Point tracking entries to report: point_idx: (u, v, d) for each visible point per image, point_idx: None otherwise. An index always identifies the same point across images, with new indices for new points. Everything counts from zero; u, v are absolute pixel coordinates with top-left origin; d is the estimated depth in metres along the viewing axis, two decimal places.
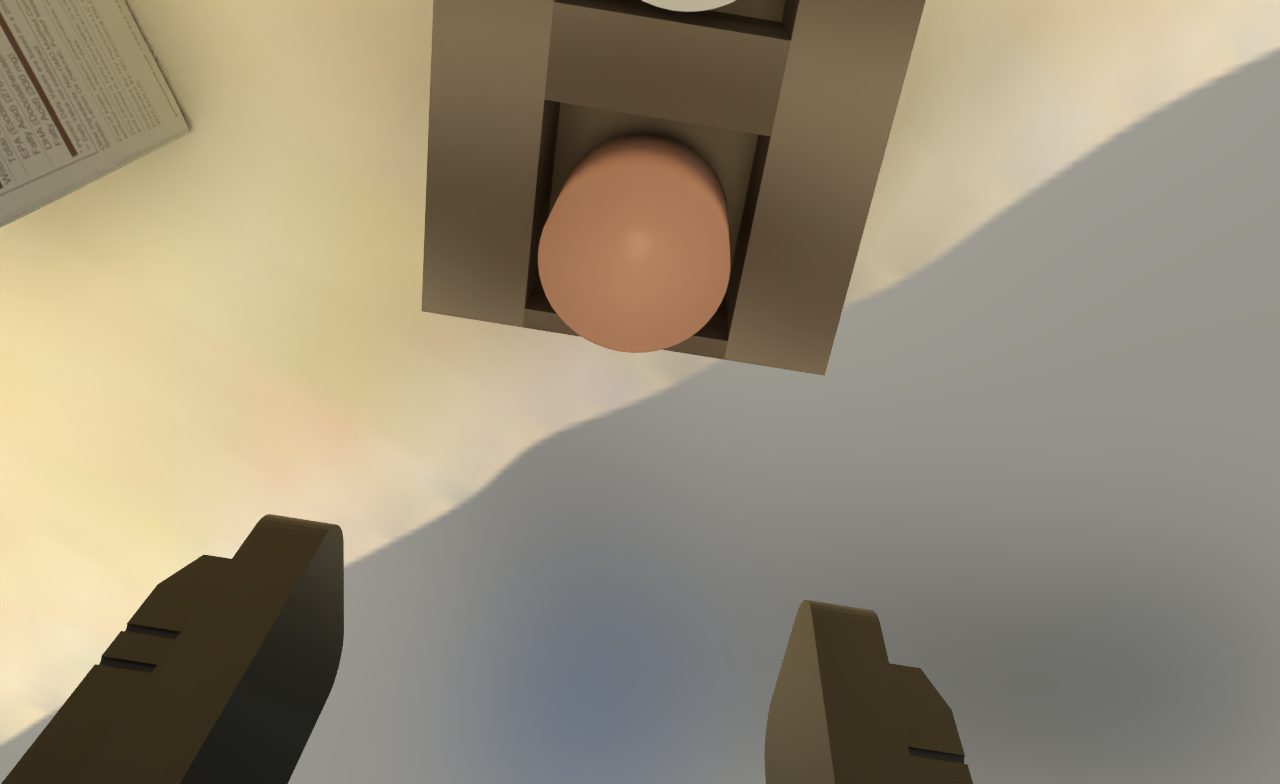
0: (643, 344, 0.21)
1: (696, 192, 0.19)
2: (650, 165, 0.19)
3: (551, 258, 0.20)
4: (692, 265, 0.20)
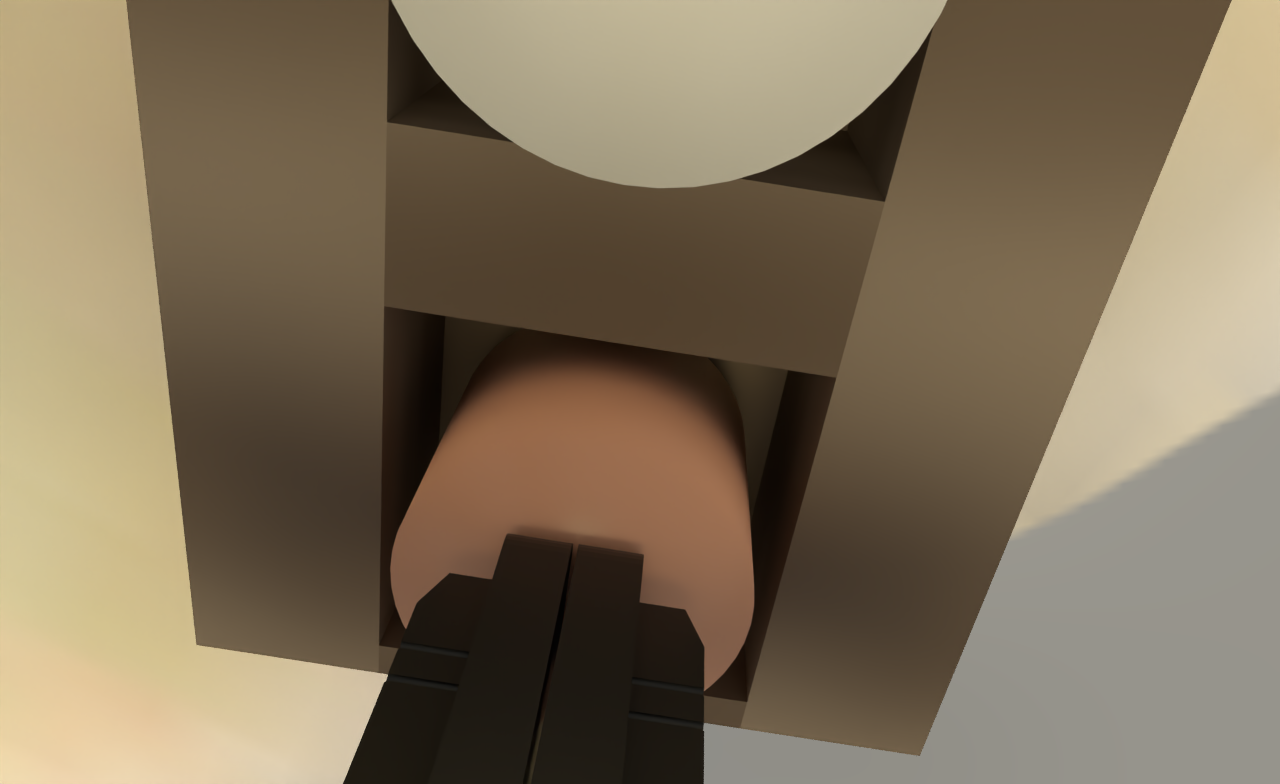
0: None
1: (689, 478, 0.10)
2: (600, 421, 0.10)
3: (416, 582, 0.10)
4: (683, 598, 0.10)
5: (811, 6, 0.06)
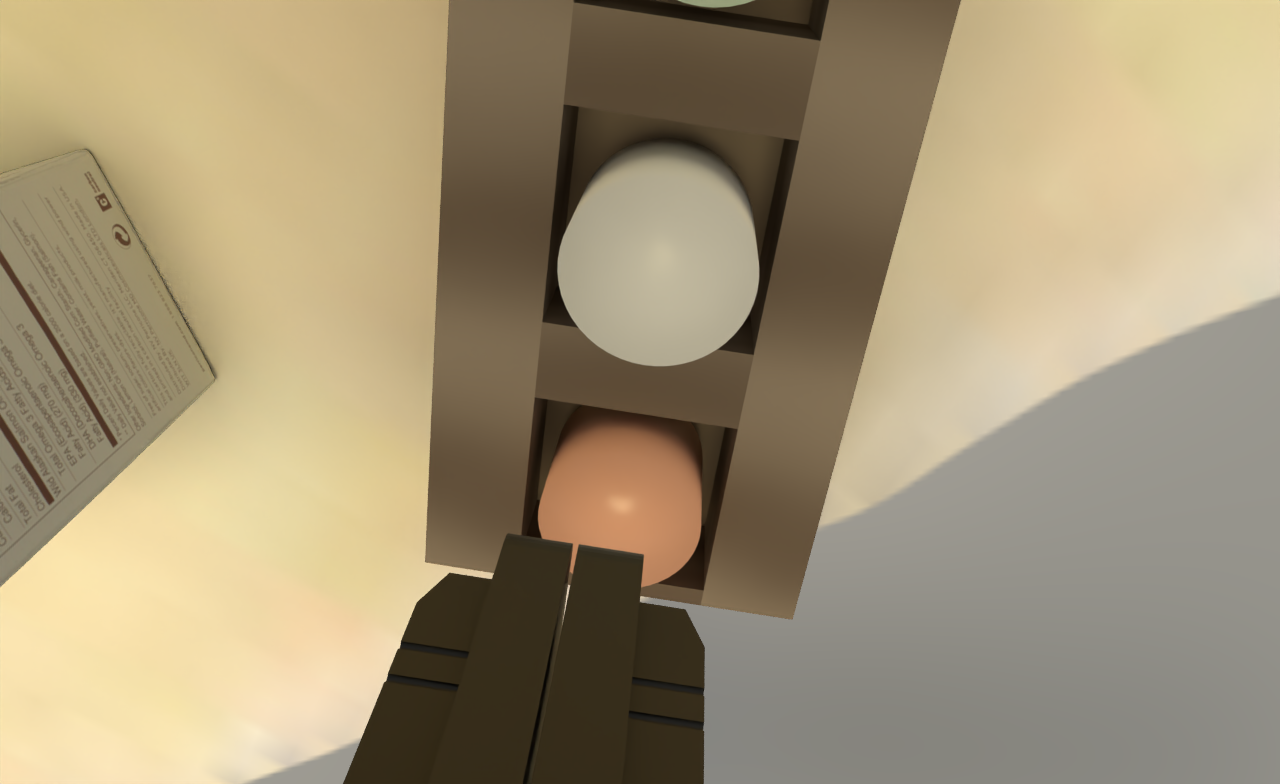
0: None
1: (671, 469, 0.23)
2: (632, 444, 0.23)
3: (549, 517, 0.23)
4: (669, 523, 0.23)
5: (706, 311, 0.19)
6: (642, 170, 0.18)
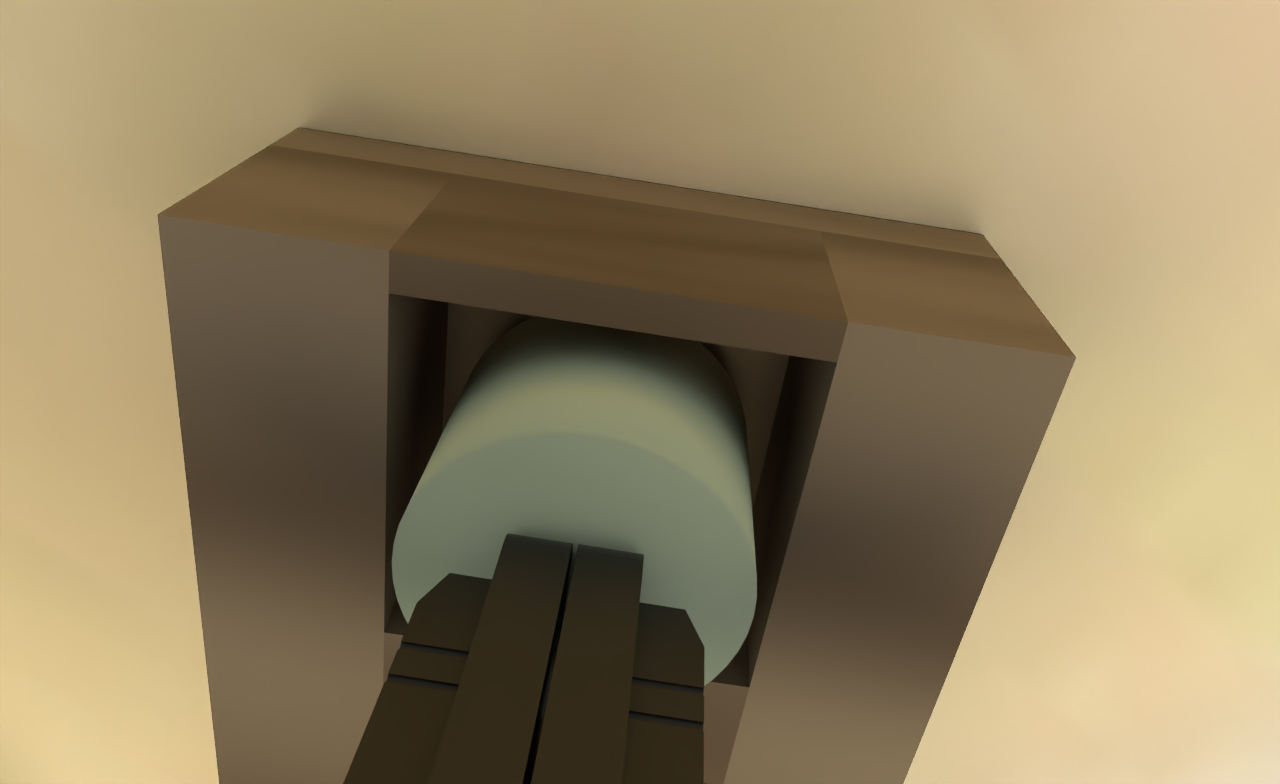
0: None
1: None
2: None
3: None
4: None
5: None
6: None
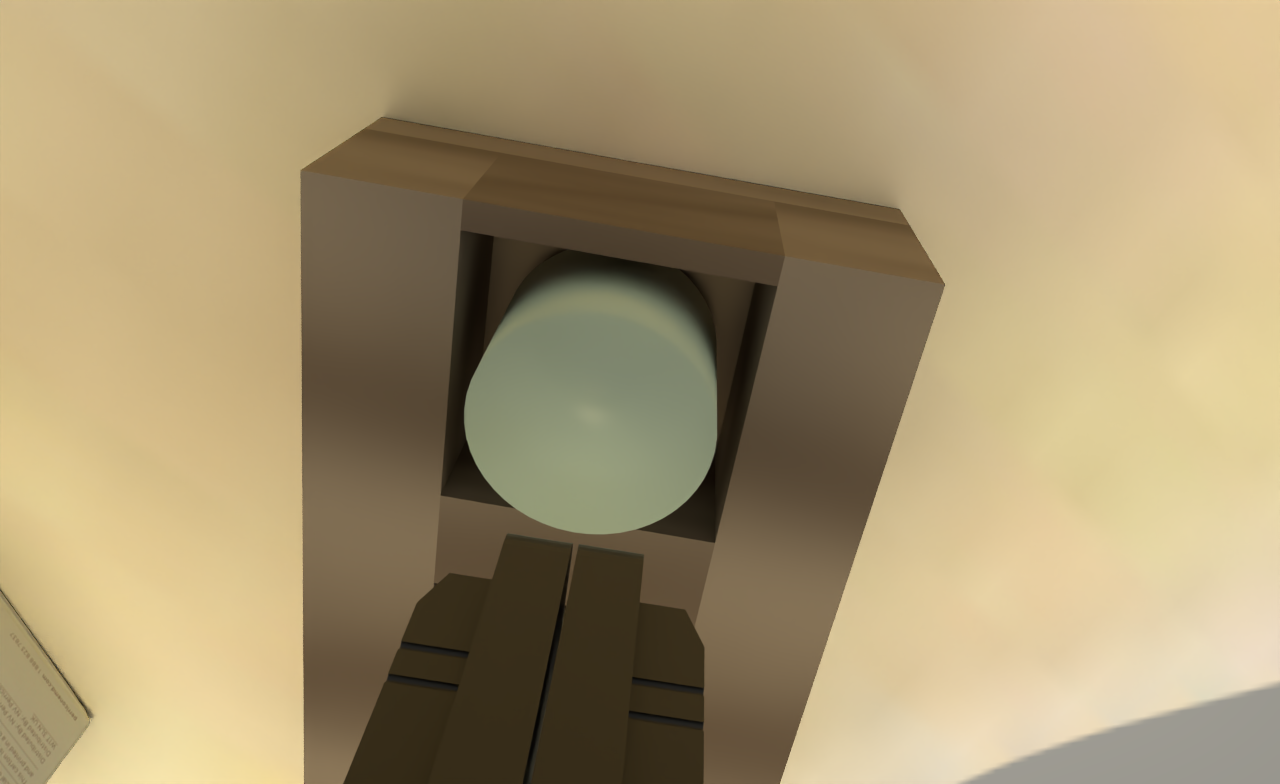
0: None
1: None
2: None
3: None
4: None
5: None
6: None
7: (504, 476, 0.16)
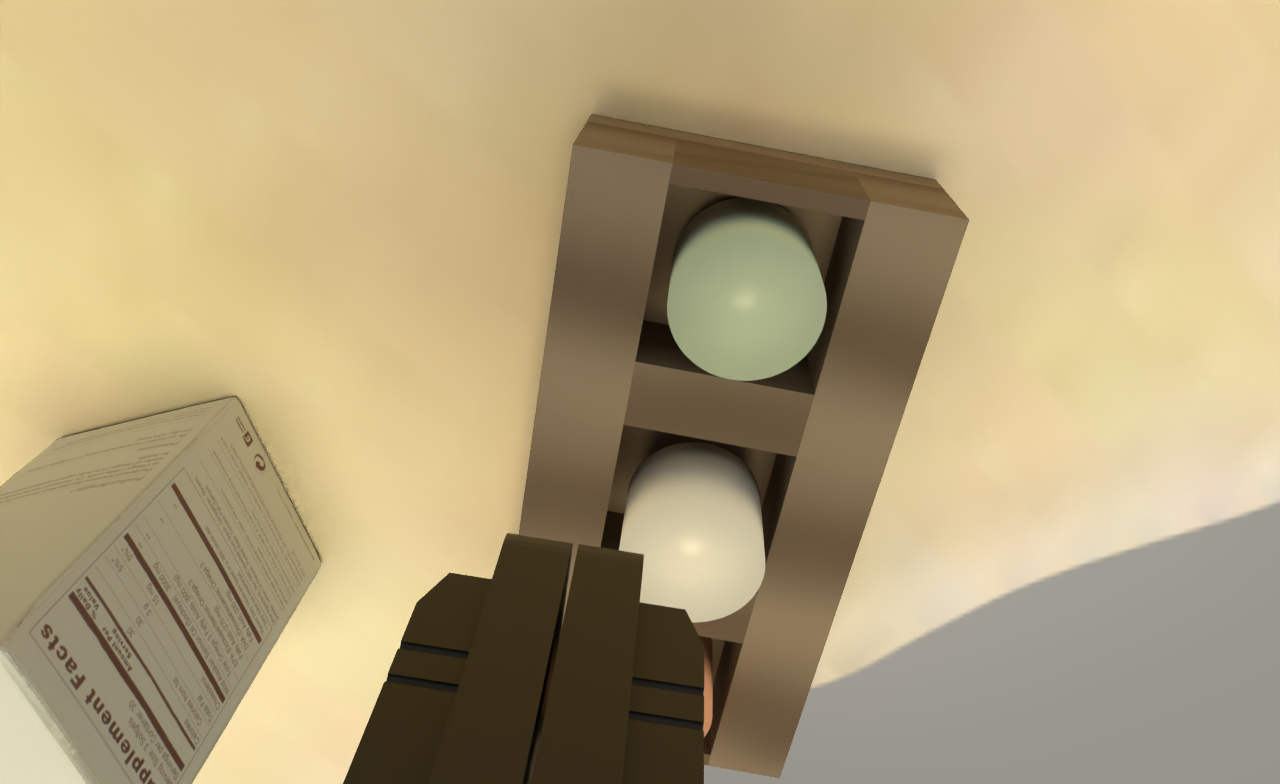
0: None
1: None
2: None
3: None
4: None
5: (725, 589, 0.26)
6: (683, 493, 0.26)
7: (688, 340, 0.25)
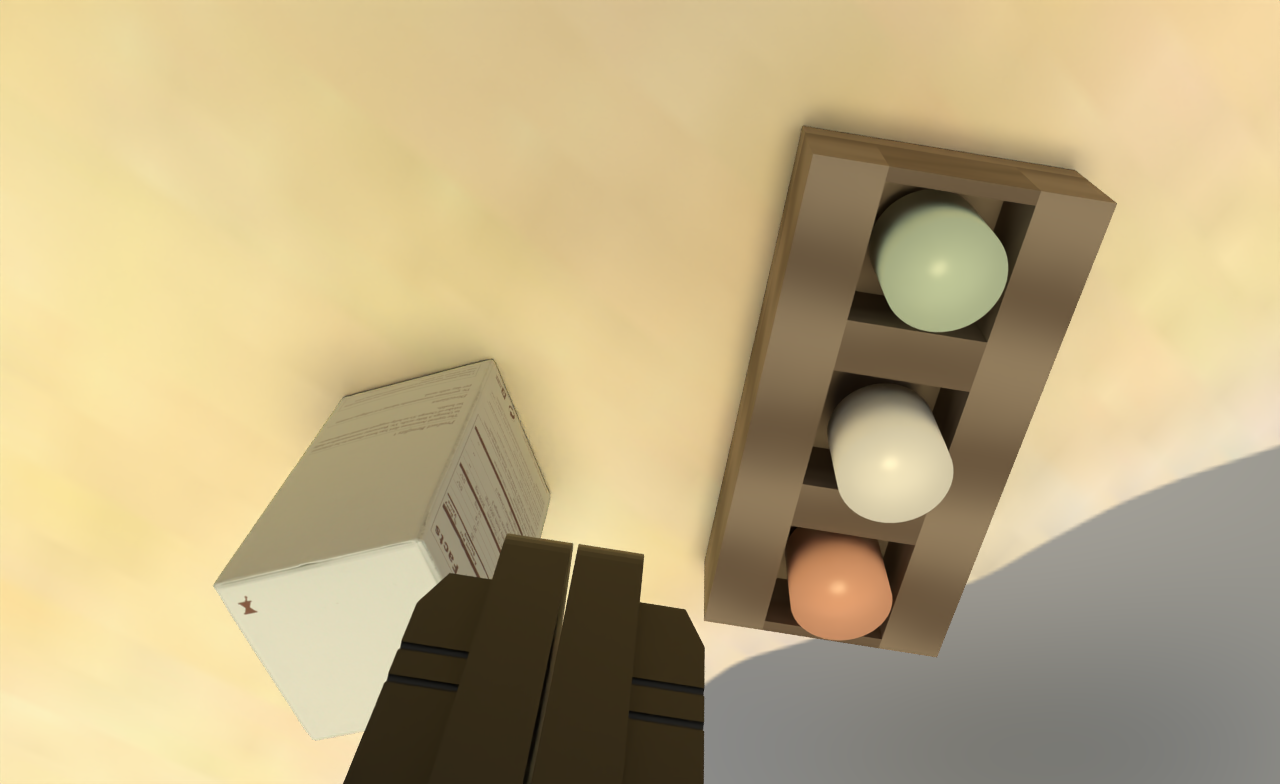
0: (842, 636, 0.39)
1: (877, 571, 0.37)
2: (853, 556, 0.37)
3: (798, 598, 0.38)
4: (872, 602, 0.38)
5: (920, 494, 0.34)
6: (889, 420, 0.33)
7: (897, 302, 0.32)
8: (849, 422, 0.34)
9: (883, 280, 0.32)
